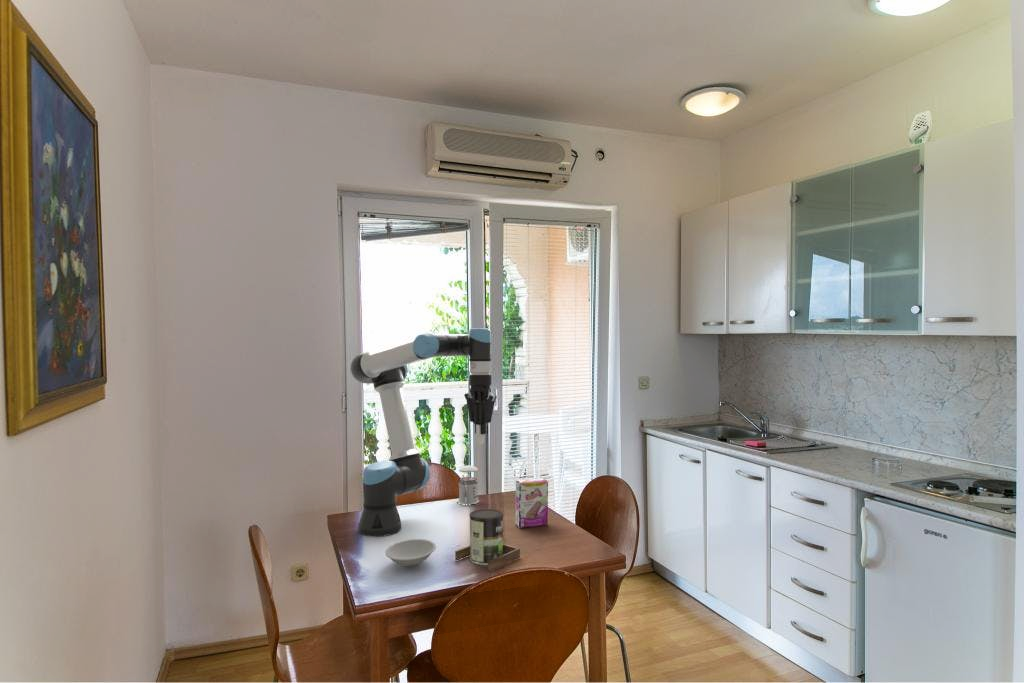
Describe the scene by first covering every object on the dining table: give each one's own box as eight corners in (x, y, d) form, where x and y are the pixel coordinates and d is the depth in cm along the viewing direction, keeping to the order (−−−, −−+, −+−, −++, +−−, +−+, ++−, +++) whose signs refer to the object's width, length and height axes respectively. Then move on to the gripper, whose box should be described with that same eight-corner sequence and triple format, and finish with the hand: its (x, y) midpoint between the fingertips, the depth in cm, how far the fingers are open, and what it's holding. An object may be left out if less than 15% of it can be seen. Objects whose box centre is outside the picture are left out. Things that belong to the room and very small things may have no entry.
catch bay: (455, 560, 178) (455, 550, 178) (486, 548, 188) (486, 538, 188) (489, 572, 169) (489, 561, 169) (519, 558, 180) (519, 548, 180)
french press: (483, 499, 247) (482, 440, 247) (475, 507, 235) (474, 445, 236) (460, 498, 249) (460, 439, 249) (452, 505, 238) (451, 444, 238)
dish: (400, 553, 184) (400, 537, 185) (443, 556, 182) (443, 540, 182) (375, 574, 167) (375, 557, 167) (423, 578, 164) (423, 561, 164)
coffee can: (506, 554, 183) (506, 509, 183) (499, 566, 173) (499, 519, 173) (474, 552, 185) (474, 507, 185) (465, 564, 175) (465, 517, 175)
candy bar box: (519, 529, 208) (519, 483, 208) (515, 524, 213) (514, 479, 213) (548, 525, 211) (548, 480, 211) (543, 521, 216) (543, 477, 216)
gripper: (458, 373, 198) (458, 443, 198) (487, 374, 190) (487, 447, 190) (473, 372, 204) (474, 440, 204) (502, 373, 196) (502, 444, 196)
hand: (480, 443), depth 197 cm, fingers closed
